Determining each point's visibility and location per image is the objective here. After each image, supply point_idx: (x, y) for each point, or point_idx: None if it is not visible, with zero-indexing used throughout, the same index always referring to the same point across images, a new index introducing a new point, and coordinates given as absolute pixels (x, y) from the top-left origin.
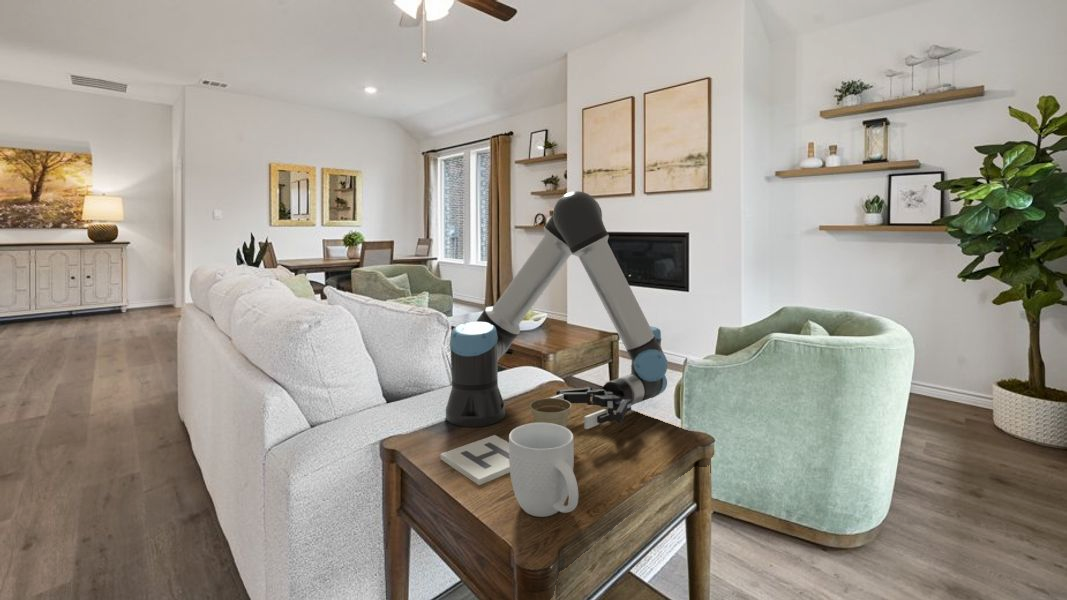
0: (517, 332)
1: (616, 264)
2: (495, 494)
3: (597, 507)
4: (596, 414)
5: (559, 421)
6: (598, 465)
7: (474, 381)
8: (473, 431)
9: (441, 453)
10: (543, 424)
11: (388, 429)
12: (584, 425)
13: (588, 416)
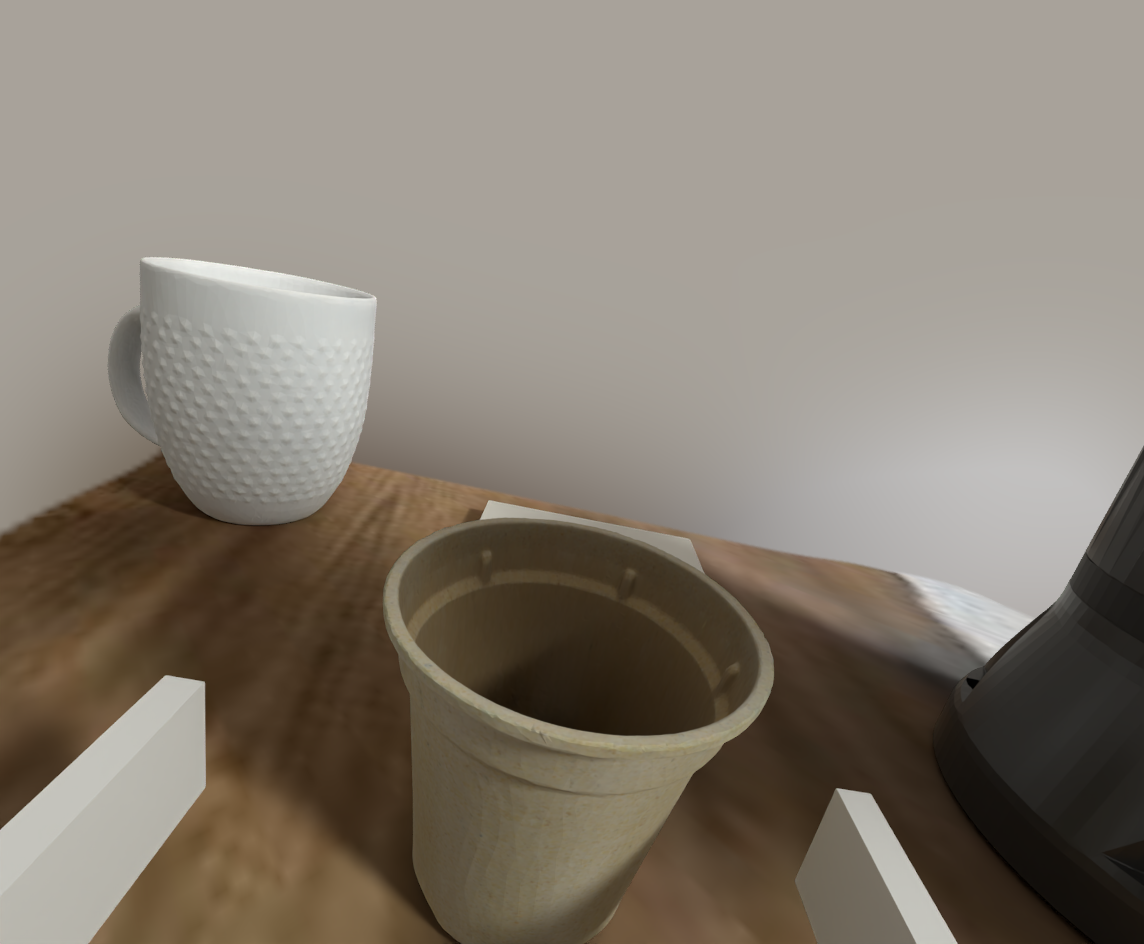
0: None
1: None
2: (418, 506)
3: (44, 529)
4: (12, 832)
5: (429, 634)
6: (30, 752)
7: (1099, 534)
8: (879, 706)
9: (689, 539)
10: (301, 297)
11: (970, 600)
12: (202, 762)
13: (148, 699)
